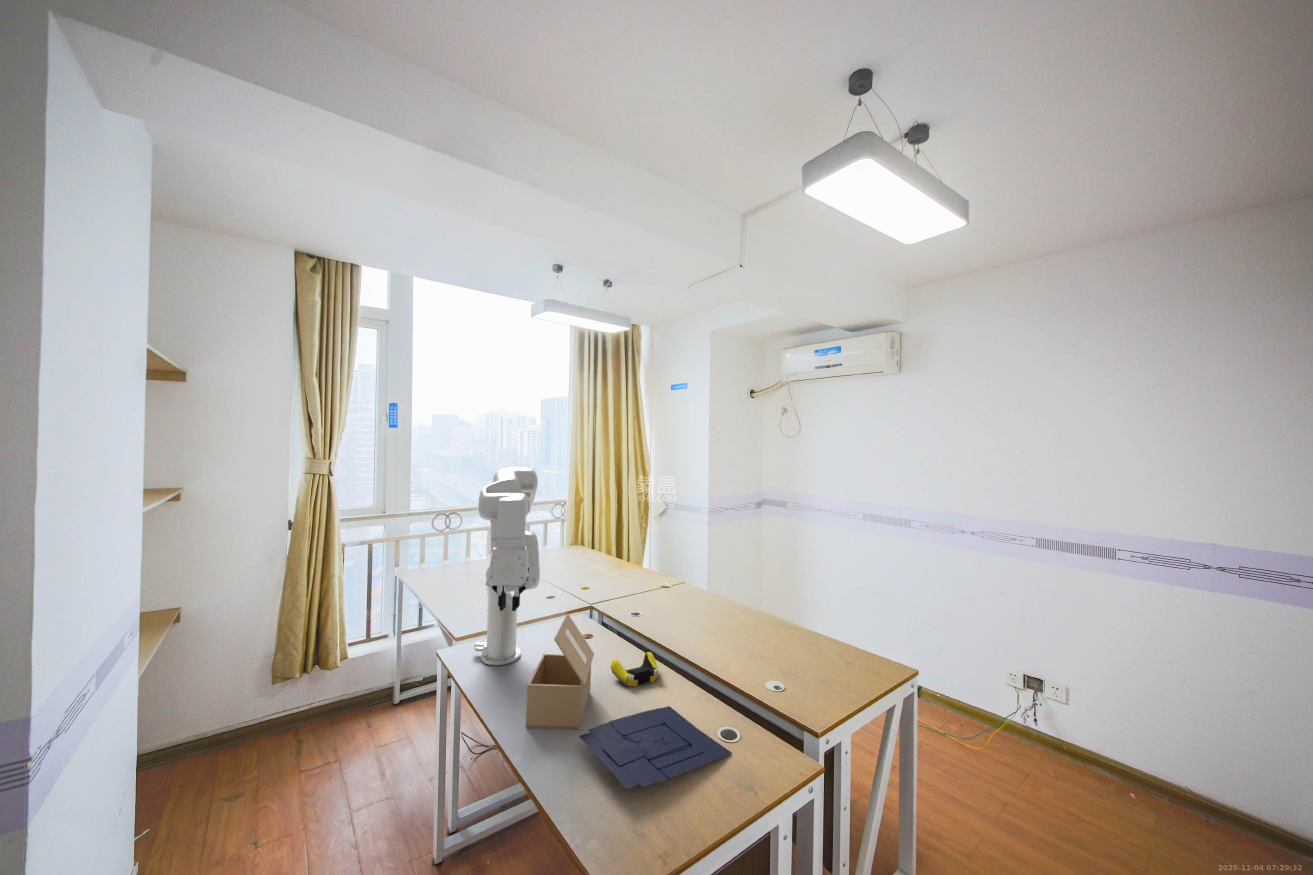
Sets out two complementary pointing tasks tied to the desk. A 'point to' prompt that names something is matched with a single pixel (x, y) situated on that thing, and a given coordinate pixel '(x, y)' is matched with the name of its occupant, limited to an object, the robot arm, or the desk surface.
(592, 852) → the desk surface
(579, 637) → the flap
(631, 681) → the gaming controller
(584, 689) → the carton
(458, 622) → the desk surface
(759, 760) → the desk surface
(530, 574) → the robot arm
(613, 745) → the folded navy cloth
